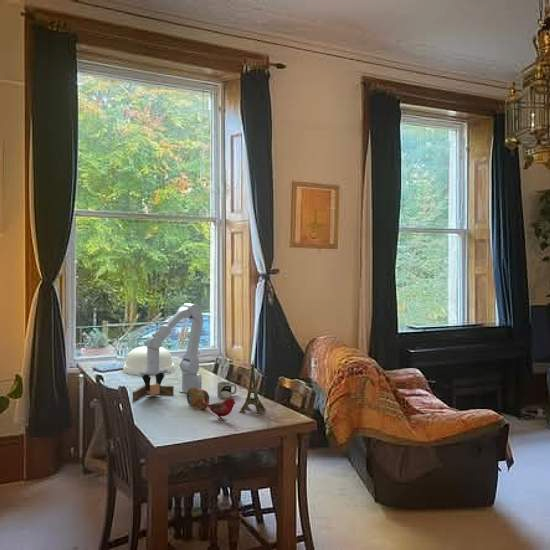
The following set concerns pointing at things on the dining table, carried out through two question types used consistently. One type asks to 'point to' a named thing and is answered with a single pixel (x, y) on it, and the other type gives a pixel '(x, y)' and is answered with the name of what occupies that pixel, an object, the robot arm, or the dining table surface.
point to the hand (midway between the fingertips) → (152, 389)
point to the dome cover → (139, 360)
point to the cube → (154, 388)
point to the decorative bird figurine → (221, 407)
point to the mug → (225, 390)
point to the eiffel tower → (254, 399)
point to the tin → (197, 398)
